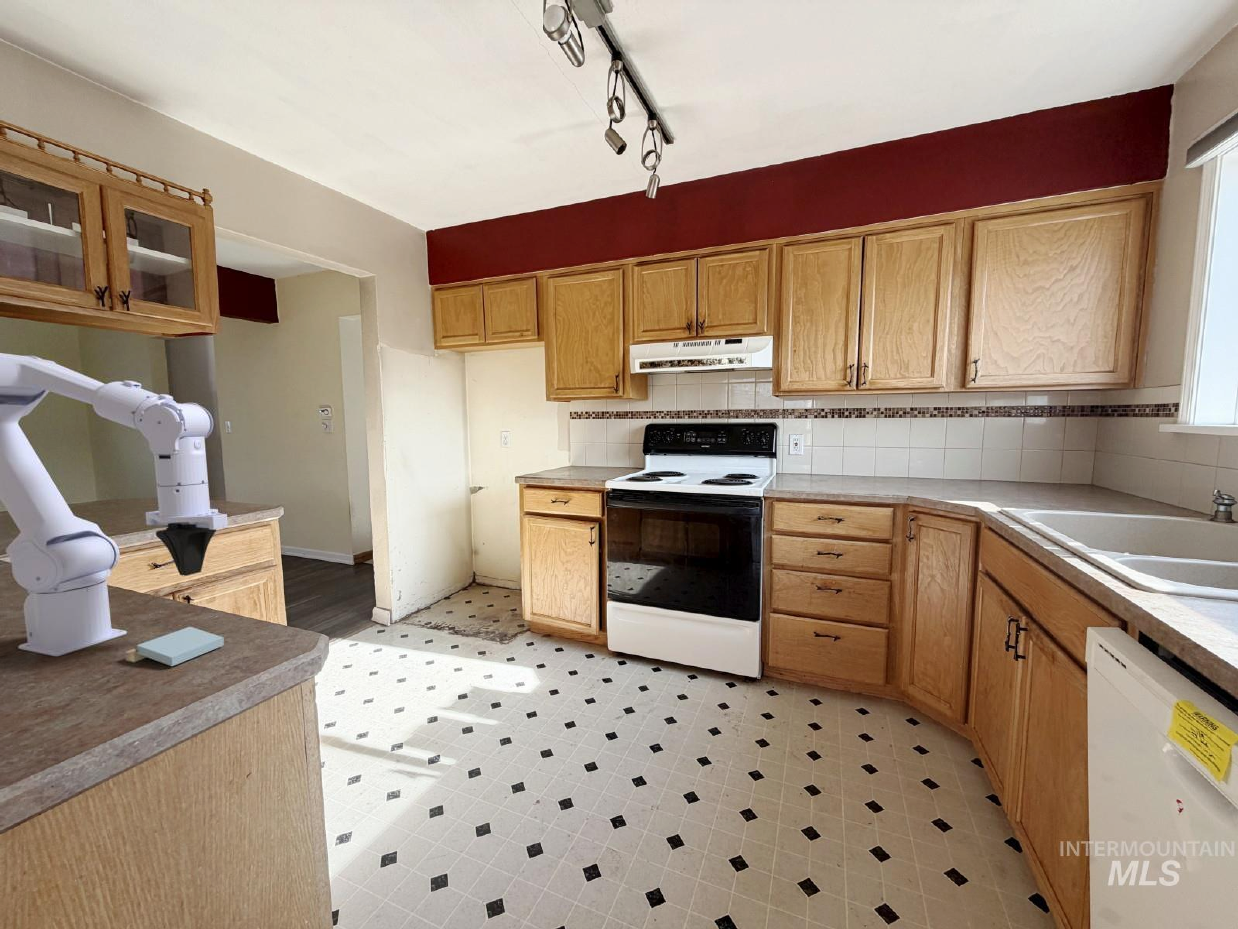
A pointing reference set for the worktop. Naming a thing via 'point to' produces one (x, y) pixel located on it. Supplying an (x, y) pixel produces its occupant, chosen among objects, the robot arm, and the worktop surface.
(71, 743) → the worktop surface
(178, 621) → the worktop surface
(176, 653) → the panel
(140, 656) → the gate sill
